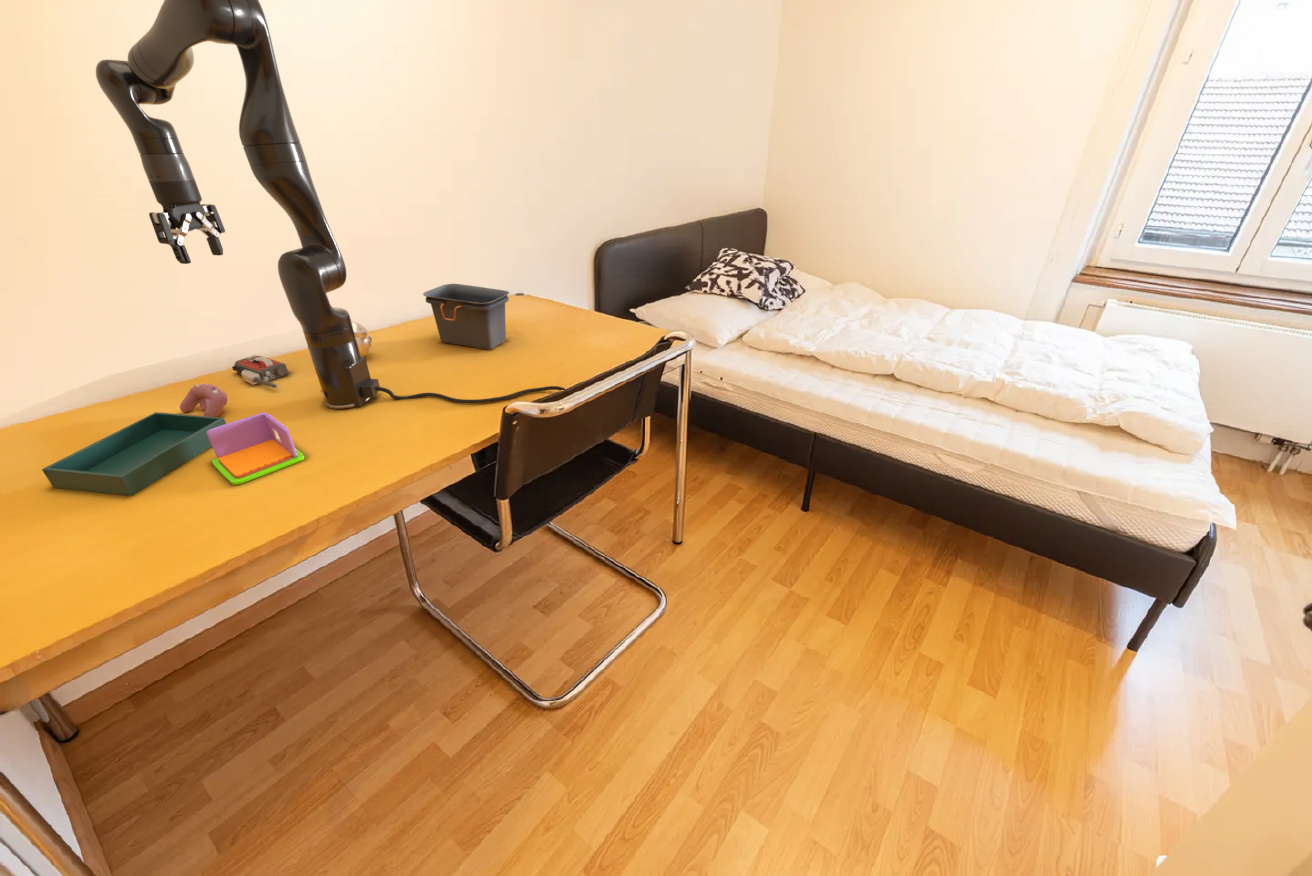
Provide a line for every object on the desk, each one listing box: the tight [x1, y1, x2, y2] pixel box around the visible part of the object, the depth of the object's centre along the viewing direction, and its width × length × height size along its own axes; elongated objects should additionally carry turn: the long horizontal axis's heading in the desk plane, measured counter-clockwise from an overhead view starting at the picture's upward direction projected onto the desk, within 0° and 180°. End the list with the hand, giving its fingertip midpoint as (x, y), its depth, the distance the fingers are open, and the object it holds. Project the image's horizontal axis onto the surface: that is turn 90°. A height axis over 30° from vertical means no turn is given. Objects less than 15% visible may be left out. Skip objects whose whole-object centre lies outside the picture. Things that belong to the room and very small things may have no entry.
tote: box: [41, 411, 227, 497], centre depth 103 cm, size 15×21×4 cm
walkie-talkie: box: [231, 354, 289, 389], centre depth 135 cm, size 9×4×20 cm
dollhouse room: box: [207, 412, 305, 486], centre depth 102 cm, size 12×12×7 cm
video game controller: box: [179, 383, 228, 417], centre depth 119 cm, size 10×5×7 cm, turn 65°
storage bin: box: [422, 283, 510, 351], centre depth 155 cm, size 21×16×14 cm
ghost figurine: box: [351, 321, 373, 357], centre depth 145 cm, size 9×10×10 cm
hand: (202, 259), depth 123 cm, fingers open, 8 cm apart
